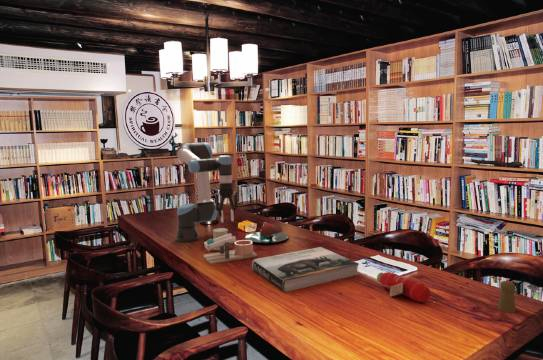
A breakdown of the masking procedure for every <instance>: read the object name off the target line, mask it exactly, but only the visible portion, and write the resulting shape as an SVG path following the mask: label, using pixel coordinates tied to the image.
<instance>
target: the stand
mask: <svg viewBox="0 0 543 360" xmlns="http://www.w3.org/2000/svg"><path fill="white" fill-rule="evenodd" d="M202 256H203V257H202V258H204V259H205V261H207V262H208V263H209V265H213V264H219V263H225V262H231V261H238V260H239V261H240V260H245V259H251V258H257V257H258V254H257V253H256V252H254V251H253V253H252V254H250V255H236V254H235V251H234V249H232V250H231V249H230V244H229V242H226V243H225V250H224V246H222V247H220V250H219V251H218V252H210V253H205V254H202ZM244 258H245V259H244Z"/></svg>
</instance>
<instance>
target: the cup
mask: <svg viewBox="0 0 543 360" xmlns="http://www.w3.org/2000/svg"><path fill="white" fill-rule="evenodd" d="M233 245H234V247H233V248H234V249H233V250H234V251H235V254H236V255H250V254H252V253H253V252H254V243H253V241H249V240H247V239H241V240H236V242H234V244H233Z"/></svg>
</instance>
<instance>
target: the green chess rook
mask: <svg viewBox="0 0 543 360" xmlns="http://www.w3.org/2000/svg"><path fill="white" fill-rule="evenodd" d="M499 287H500V290H501V291H500V296H499V300H498V305H497V309H498V310H499V311H501V312H504V313H508V312H509V313H508V314H511V313H512V314H513V312H514V313H516V312H515V311H516V310H517V309H516V300H515V292H516V289H517V287H516V285H515V283H514V282H513V281H508V280H503V281H501V282H500V284H499Z"/></svg>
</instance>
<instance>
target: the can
mask: <svg viewBox="0 0 543 360" xmlns="http://www.w3.org/2000/svg"><path fill="white" fill-rule="evenodd" d="M226 234H229V232H228V228H224V227H222V228H221V227H219V228H214V229H212V237H213V238H212V239H215V238H218V237H221V236H223V235H226ZM213 250H215V251H220V247H219V248H216V249H213ZM224 251H225V246H224Z"/></svg>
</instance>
